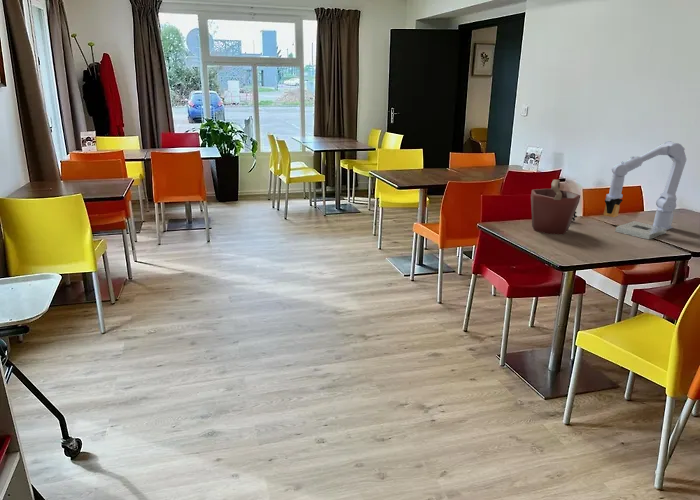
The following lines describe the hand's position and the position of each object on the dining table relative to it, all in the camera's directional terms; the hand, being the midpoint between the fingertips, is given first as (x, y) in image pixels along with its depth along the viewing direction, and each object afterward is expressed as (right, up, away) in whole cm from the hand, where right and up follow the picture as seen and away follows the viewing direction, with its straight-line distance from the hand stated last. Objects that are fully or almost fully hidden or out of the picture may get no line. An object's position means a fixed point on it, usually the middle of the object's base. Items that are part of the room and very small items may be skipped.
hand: (611, 212), depth 266 cm
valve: (-24, -5, +3) cm, 25 cm away
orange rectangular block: (0, -2, 0) cm, 2 cm away
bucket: (-38, -10, -12) cm, 41 cm away
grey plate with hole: (+9, -11, -12) cm, 18 cm away
